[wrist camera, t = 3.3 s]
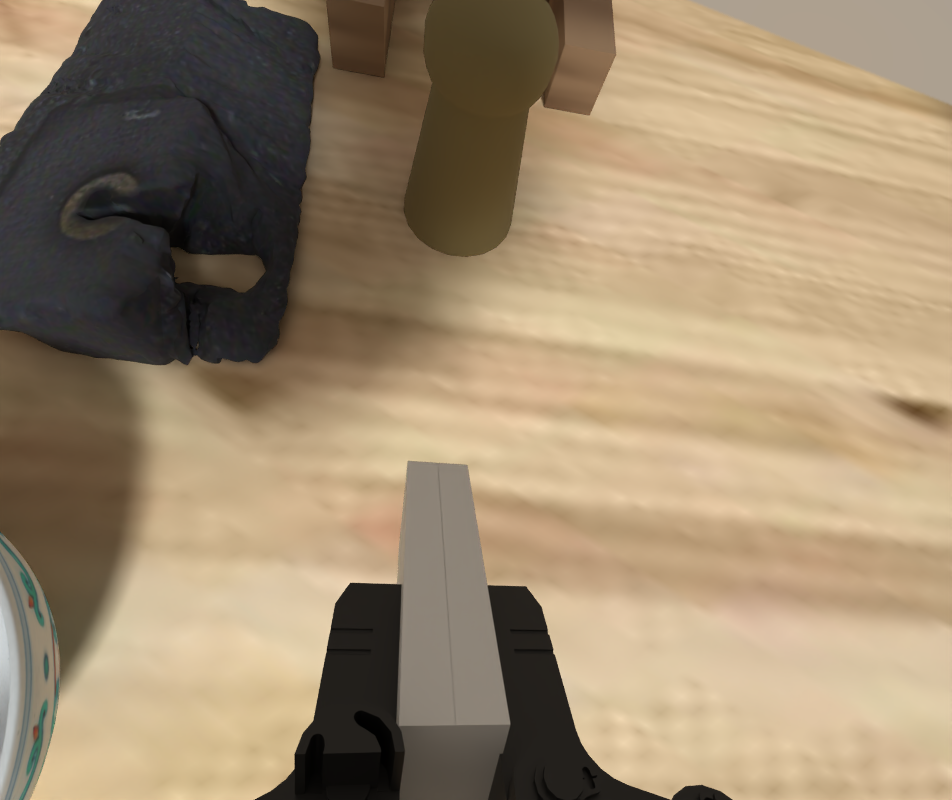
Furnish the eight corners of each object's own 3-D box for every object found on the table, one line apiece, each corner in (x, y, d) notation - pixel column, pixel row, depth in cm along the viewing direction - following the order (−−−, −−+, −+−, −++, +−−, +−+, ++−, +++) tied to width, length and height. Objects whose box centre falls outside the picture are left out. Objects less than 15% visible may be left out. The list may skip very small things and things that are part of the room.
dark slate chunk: (364, 66, 31) (361, -19, 27) (269, 394, 23) (242, 350, 19) (101, 1, 29) (51, -101, 25) (-99, 332, 22) (-222, 268, 17)
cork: (385, 182, 28) (386, -50, 18) (482, 157, 30) (533, -66, 19) (432, 270, 26) (461, 74, 16) (530, 238, 28) (612, 43, 18)
